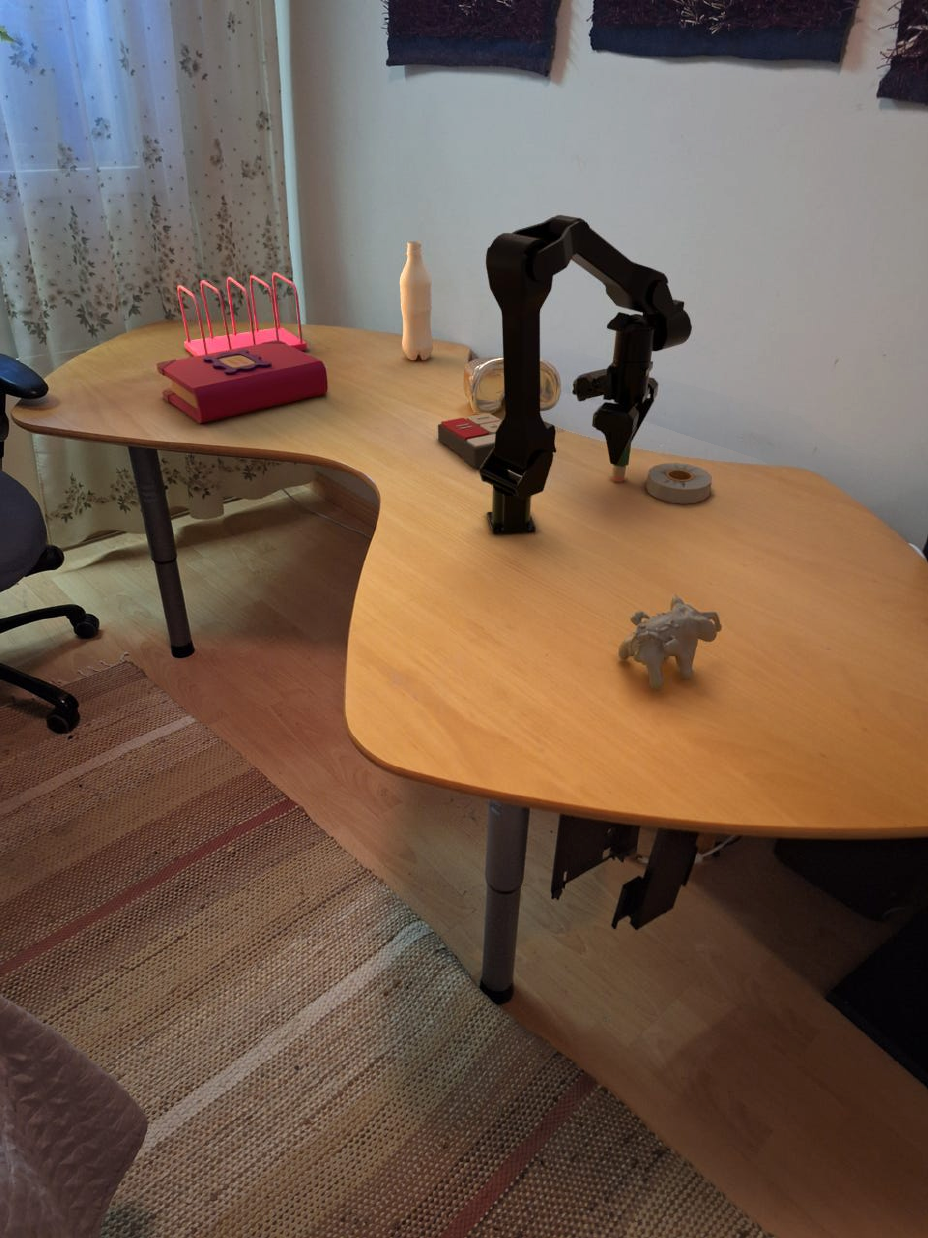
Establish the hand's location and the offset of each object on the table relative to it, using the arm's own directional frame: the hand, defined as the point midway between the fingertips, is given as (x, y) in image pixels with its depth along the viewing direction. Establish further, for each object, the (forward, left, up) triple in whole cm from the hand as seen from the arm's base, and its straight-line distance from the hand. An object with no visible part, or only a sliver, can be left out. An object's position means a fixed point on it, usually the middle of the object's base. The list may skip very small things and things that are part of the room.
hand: (620, 453), depth 131 cm
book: (+50, +65, -5) cm, 82 cm away
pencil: (0, 0, -5) cm, 5 cm away
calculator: (+16, +20, -5) cm, 26 cm away
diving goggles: (+35, +12, -5) cm, 38 cm away
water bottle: (+72, +27, -5) cm, 77 cm away
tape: (-5, -9, -5) cm, 11 cm away
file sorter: (+84, +68, -5) cm, 109 cm away
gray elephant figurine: (-49, +8, -5) cm, 50 cm away
